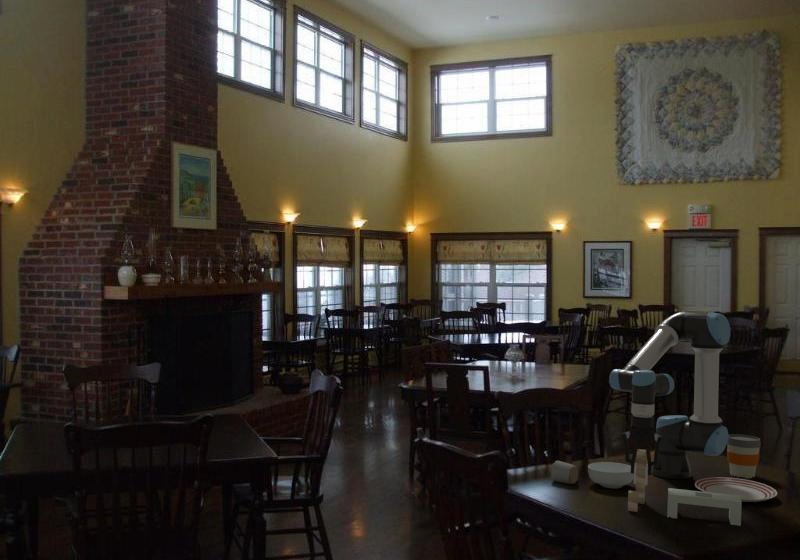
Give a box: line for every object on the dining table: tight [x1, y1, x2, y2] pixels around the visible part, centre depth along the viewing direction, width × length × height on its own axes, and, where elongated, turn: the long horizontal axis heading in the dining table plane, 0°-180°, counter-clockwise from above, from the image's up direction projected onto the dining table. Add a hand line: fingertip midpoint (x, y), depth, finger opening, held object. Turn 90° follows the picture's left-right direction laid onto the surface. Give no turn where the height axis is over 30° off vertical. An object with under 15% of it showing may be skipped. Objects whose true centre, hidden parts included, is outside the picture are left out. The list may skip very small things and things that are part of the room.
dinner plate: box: [694, 476, 778, 503], centre depth 292 cm, size 27×27×3 cm
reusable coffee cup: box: [726, 434, 762, 479], centre depth 321 cm, size 12×13×15 cm
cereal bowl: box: [587, 461, 634, 489], centre depth 300 cm, size 17×17×7 cm
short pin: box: [627, 490, 639, 513], centre depth 270 cm, size 3×3×6 cm
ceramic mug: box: [550, 460, 579, 485], centre depth 304 cm, size 11×8×8 cm
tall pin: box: [635, 448, 647, 505], centre depth 279 cm, size 3×3×18 cm
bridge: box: [666, 487, 743, 527], centre depth 263 cm, size 8×22×8 cm, turn 72°
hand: (640, 483), depth 279 cm, fingers closed on tall pin, 3 cm apart
